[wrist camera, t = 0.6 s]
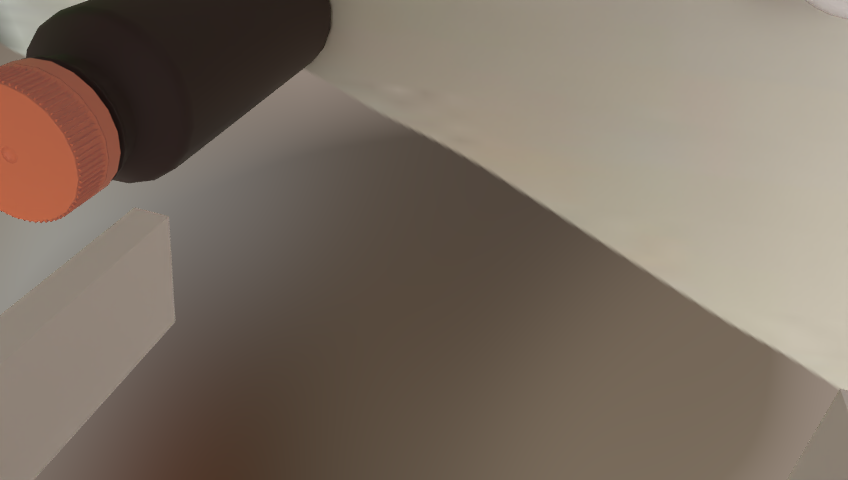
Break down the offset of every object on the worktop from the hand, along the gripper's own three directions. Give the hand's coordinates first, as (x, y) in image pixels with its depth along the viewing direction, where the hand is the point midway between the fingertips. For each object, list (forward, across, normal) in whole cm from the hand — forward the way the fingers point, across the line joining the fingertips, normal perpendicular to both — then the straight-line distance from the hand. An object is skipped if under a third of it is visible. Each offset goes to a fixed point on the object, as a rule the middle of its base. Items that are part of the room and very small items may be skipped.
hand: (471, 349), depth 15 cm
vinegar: (+26, -16, -2) cm, 31 cm away
